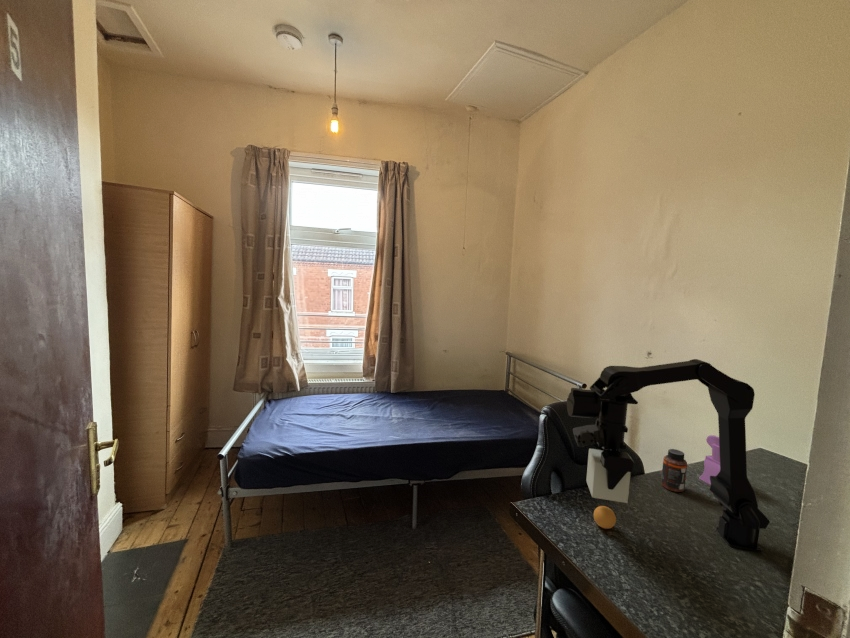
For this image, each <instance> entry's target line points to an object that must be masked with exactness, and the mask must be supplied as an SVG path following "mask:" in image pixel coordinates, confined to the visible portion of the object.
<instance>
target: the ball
mask: <svg viewBox="0 0 850 638" xmlns="http://www.w3.org/2000/svg"><path fill="white" fill-rule="evenodd" d="M593 519H594V521H595V523H596V524H597V525H598V526H599V527H601V528H602V529H611V528H613V527H614V526H615V525H616V521H617V518H616V515H615V512H614V511H613V510H612V509H611V508H609V507H608V506H605V505H599V506H597V507H596V508H595V509H594V511H593Z"/></svg>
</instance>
